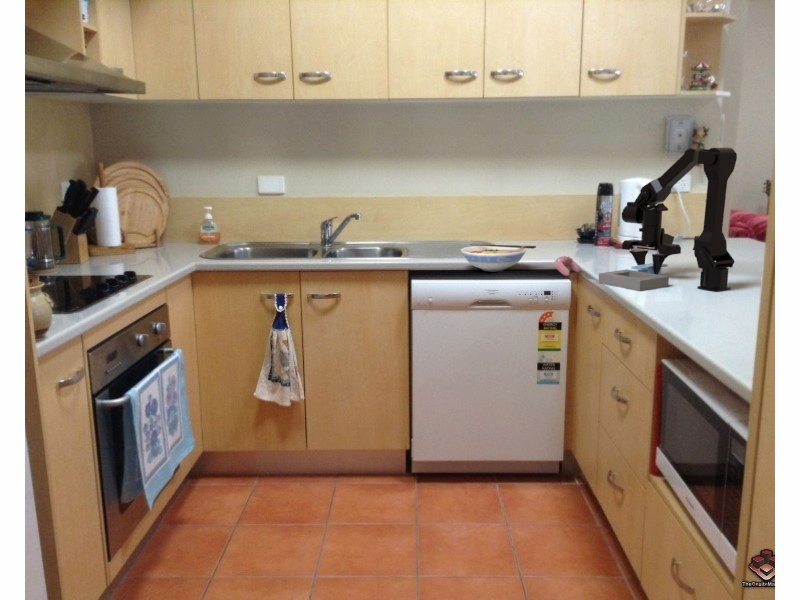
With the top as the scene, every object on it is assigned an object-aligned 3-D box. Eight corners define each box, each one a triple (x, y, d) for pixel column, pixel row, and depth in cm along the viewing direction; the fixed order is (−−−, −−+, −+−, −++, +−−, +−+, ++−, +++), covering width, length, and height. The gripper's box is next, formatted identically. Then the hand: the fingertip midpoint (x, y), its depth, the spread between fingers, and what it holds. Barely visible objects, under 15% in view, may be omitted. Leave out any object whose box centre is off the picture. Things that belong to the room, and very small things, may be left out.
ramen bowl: (446, 272, 230) (445, 249, 229) (476, 263, 249) (476, 241, 247) (512, 278, 217) (512, 253, 215) (539, 267, 235) (539, 244, 234)
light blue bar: (666, 276, 213) (667, 264, 213) (640, 280, 208) (641, 267, 207) (656, 274, 217) (657, 262, 216) (630, 278, 211) (631, 266, 210)
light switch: (668, 286, 196) (668, 276, 196) (639, 291, 191) (640, 280, 190) (626, 278, 210) (626, 269, 210) (598, 282, 205) (598, 273, 204)
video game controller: (571, 275, 227) (562, 256, 228) (582, 270, 224) (574, 251, 225) (558, 280, 220) (549, 260, 220) (569, 275, 217) (561, 255, 217)
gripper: (694, 225, 205) (691, 275, 208) (645, 221, 221) (643, 267, 224) (669, 227, 199) (666, 279, 203) (621, 223, 215) (619, 271, 219)
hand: (649, 273), depth 212 cm, fingers open, 5 cm apart
